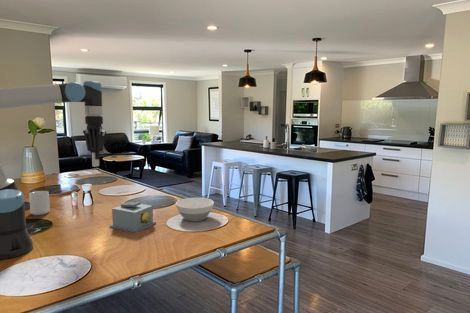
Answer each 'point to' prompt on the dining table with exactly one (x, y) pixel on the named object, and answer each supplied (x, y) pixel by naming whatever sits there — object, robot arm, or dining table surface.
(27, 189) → the dining table surface
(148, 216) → the pin
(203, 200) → the bowl
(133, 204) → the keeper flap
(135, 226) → the block
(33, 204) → the mug
